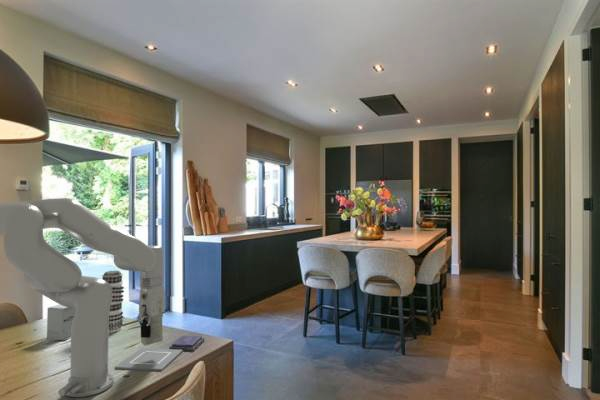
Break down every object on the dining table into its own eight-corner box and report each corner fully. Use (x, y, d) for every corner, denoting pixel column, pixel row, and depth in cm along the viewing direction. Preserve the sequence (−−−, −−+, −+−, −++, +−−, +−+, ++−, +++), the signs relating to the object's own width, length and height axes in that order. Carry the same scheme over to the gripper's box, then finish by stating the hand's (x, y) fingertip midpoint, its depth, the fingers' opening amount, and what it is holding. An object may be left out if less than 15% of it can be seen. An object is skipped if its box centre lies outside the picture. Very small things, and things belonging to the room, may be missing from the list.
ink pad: (193, 350, 131) (193, 345, 131) (169, 349, 132) (169, 344, 132) (204, 340, 142) (204, 335, 142) (181, 339, 143) (181, 335, 143)
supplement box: (61, 340, 142) (62, 308, 143) (46, 339, 144) (46, 307, 144) (76, 334, 149) (77, 303, 150) (61, 333, 151) (62, 302, 151)
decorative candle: (94, 331, 152) (95, 272, 153) (113, 325, 161) (114, 269, 162) (109, 334, 149) (110, 274, 150) (128, 327, 157) (128, 270, 158)
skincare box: (158, 338, 128) (158, 303, 128) (162, 341, 124) (163, 306, 125) (140, 342, 124) (140, 307, 124) (143, 346, 120) (144, 309, 121)
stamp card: (161, 370, 115) (161, 368, 115) (114, 368, 117) (114, 366, 117) (183, 351, 131) (183, 349, 131) (141, 349, 132) (141, 347, 133)
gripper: (148, 287, 115) (149, 343, 115) (173, 276, 133) (173, 325, 132) (126, 287, 116) (126, 342, 116) (154, 276, 134) (154, 324, 133)
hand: (151, 332), depth 124 cm, fingers closed on skincare box, 7 cm apart
